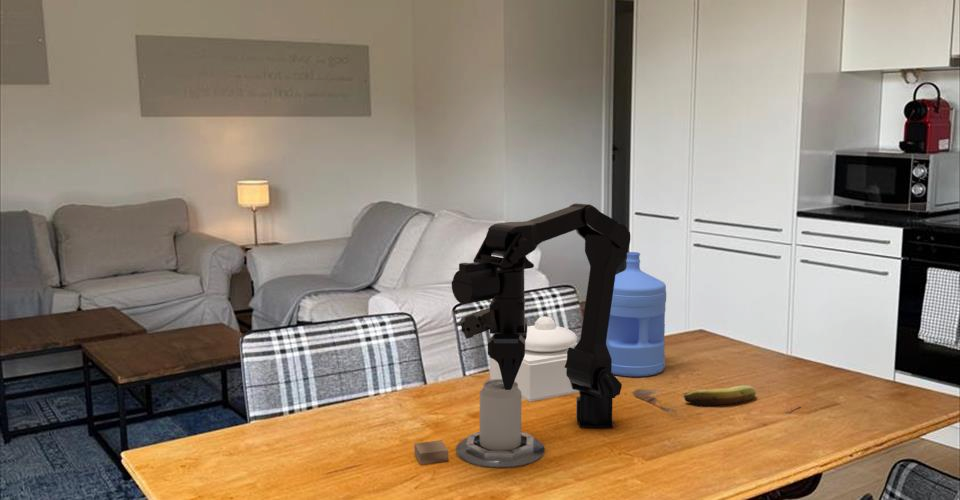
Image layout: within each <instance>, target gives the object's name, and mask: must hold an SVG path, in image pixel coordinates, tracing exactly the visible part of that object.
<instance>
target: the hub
mask: <svg viewBox="0 0 960 500" xmlns="http://www.w3.org/2000/svg"><path fill="white" fill-rule="evenodd" d="M545 451H546V448H545V445H544V443H543V442H541V440H539V439H537V438H535V436H534V435H532V434H529V433H527V432H523V431H521V445H520V446H519V447H518V448H517V449H514V450H511V451H488V450H485V449H484V447H482V446H481V445H480V431H478V432H475V433H470V434H468V436H467V437H466V438H464V439H463V440H461V441H459V442H458V443H457V444H456V446H455V454H456V455H457V457H458V458H459V459H461V460H462V461H464V462H465V463H468V464H471V465H475V466H478V467H483V468H491V469H509V468H517V467H523V466H526V465H527V466H528V465H530V464H532V463H535V462H537V461H539V460H540V459H541V458H543V456H544V455H545V453H546V452H545Z"/></svg>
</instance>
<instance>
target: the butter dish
mask: <svg viewBox="0 0 960 500" xmlns="http://www.w3.org/2000/svg"><path fill="white" fill-rule="evenodd" d="M577 343H578V336H577V334H576V333H575V332H574V331H572V329H571V330H570V329H568V328H565V327H562V326H558V325H557V324H556V322H555V321H554V319H552V318H551V317H549V316H541V317H538V319H537V320H535V322H534V325H527V337H526V340H525V356H524V358H523V361H522V363H521V366H520V368H519V371H518V373H517V376H516V378H515V382H517V383H518V388H519V390H520V391H521V399H524V400H526V401H527V402H530V403H532V402H536V401H540V400H541V401H542V400H547V399H550V398H551V399H552V398H556V397H563V396H566V395H573V394H579V391H578V390H574V389H572V386H571V382H570V380H569V378H568V377H567V374H566V371H567V368H565V364H566V361H567V351H568V349H569V348H574V347H575V346H576V345H577ZM493 379H502V376H501V372H500V368H499V364H498V362H496V361H495V360H494V359H492V358H490V357H489V380H493Z"/></svg>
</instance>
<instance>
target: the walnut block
mask: <svg viewBox="0 0 960 500" xmlns="http://www.w3.org/2000/svg"><path fill="white" fill-rule="evenodd" d="M413 448H414V456H415V458H416V459H417V461H418V463H419V465H429V464H437V463H445V462H449V449H448V448H447V446H446V445H445V442H443V440H433V441H425V442H424V441H423V442H414V447H413Z"/></svg>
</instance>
